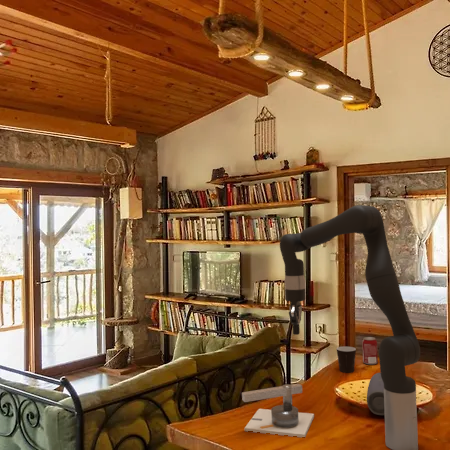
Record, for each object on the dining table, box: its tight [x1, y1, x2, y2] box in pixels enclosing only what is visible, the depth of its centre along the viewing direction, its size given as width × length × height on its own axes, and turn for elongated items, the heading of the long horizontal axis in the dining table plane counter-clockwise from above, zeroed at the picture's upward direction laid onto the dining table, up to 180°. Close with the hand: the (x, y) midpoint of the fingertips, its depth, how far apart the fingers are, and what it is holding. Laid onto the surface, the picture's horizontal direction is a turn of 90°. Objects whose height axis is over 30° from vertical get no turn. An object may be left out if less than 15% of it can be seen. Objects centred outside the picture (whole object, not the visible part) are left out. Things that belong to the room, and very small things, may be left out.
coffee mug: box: [336, 346, 357, 374], centre depth 229 cm, size 12×9×10 cm
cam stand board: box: [244, 408, 315, 438], centre depth 172 cm, size 20×18×1 cm
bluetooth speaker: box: [366, 372, 385, 416], centre depth 185 cm, size 23×9×10 cm, turn 161°
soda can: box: [361, 336, 379, 366], centre depth 241 cm, size 7×7×12 cm
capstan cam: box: [241, 383, 303, 427], centre depth 169 cm, size 21×9×12 cm, turn 110°
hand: (296, 334), depth 187 cm, fingers closed
